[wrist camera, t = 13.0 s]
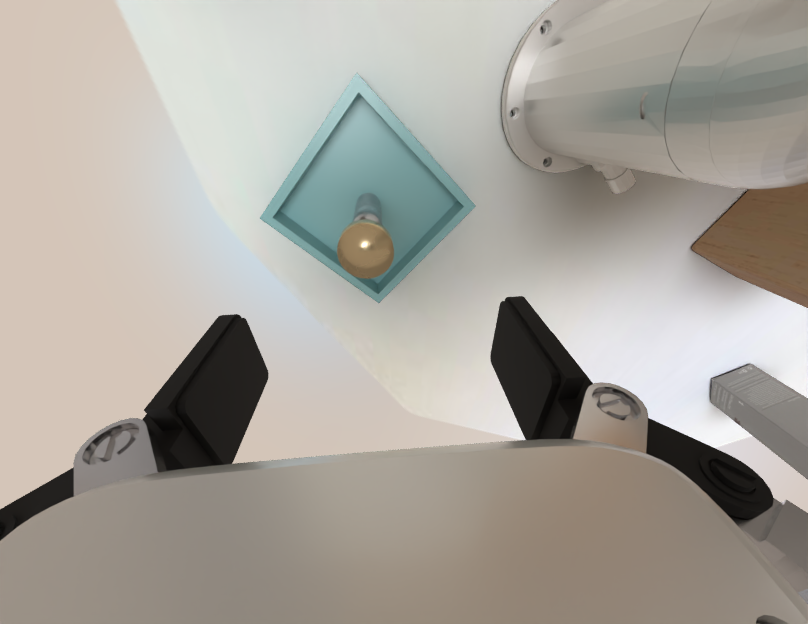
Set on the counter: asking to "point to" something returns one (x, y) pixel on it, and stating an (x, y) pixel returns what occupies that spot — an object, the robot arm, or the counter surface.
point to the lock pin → (366, 241)
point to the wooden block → (764, 241)
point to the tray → (367, 189)
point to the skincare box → (766, 412)
